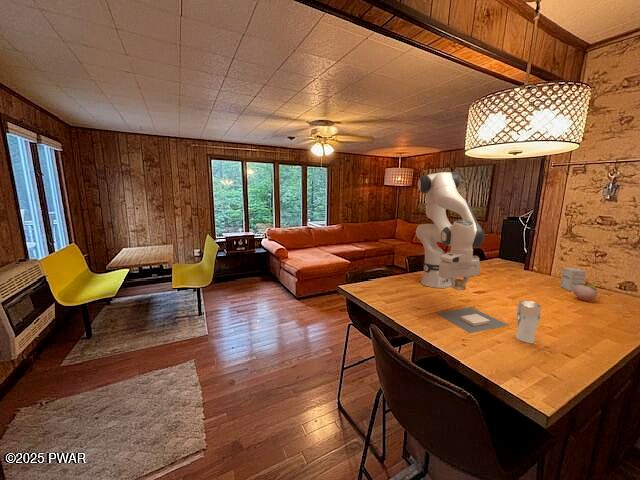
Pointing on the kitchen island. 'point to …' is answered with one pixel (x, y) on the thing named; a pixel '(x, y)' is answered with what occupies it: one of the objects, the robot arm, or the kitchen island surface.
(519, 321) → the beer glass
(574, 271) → the supplement box
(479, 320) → the tile
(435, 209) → the robot arm
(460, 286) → the beech cube
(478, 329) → the mat
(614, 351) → the kitchen island surface
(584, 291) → the decorative fruit
